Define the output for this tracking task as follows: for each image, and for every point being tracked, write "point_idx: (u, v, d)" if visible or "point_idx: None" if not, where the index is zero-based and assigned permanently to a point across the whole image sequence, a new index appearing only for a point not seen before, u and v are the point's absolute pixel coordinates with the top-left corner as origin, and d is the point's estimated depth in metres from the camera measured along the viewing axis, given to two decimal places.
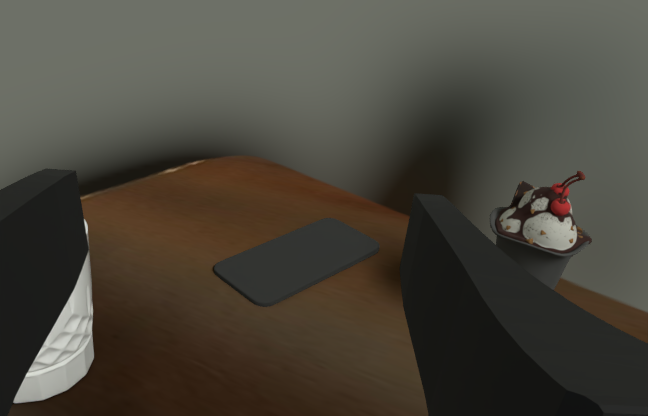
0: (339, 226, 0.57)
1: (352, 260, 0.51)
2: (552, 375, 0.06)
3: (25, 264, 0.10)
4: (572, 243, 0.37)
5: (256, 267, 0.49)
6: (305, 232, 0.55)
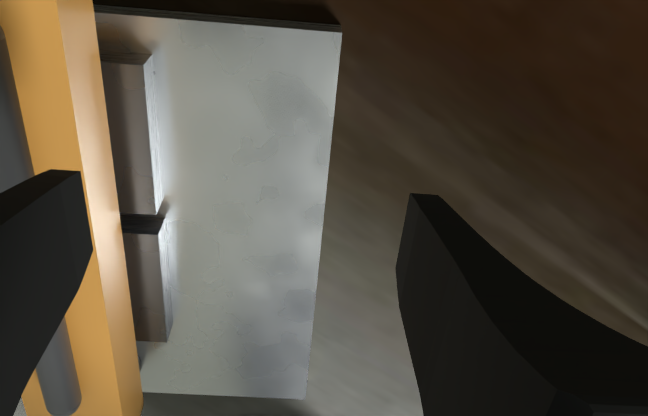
0: None
1: None
2: (543, 374, 0.06)
3: (31, 264, 0.10)
4: None
5: None
6: None
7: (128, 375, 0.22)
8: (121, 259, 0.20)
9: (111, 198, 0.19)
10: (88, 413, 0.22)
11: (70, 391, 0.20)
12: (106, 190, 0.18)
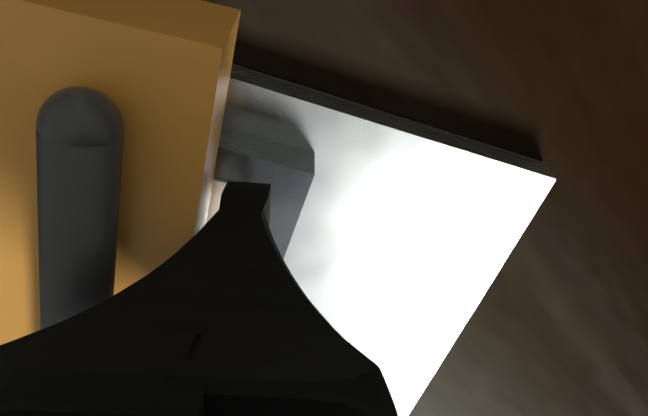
0: None
1: None
2: (170, 356, 0.06)
3: None
4: None
5: None
6: None
7: None
8: None
9: None
10: None
11: None
12: None
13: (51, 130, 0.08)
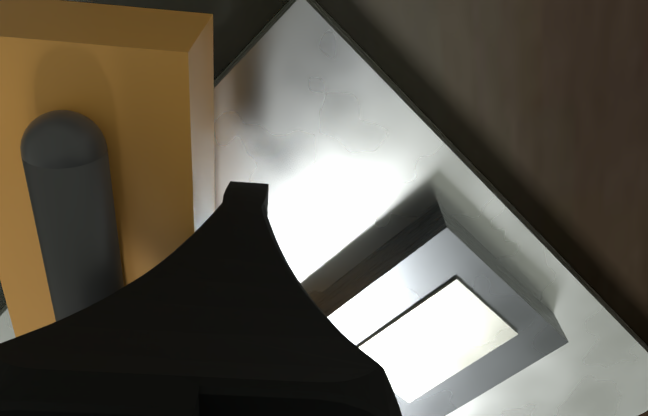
0: None
1: None
2: (174, 356, 0.06)
3: None
4: None
5: None
6: None
7: None
8: None
9: None
10: None
11: None
12: None
13: (33, 155, 0.08)
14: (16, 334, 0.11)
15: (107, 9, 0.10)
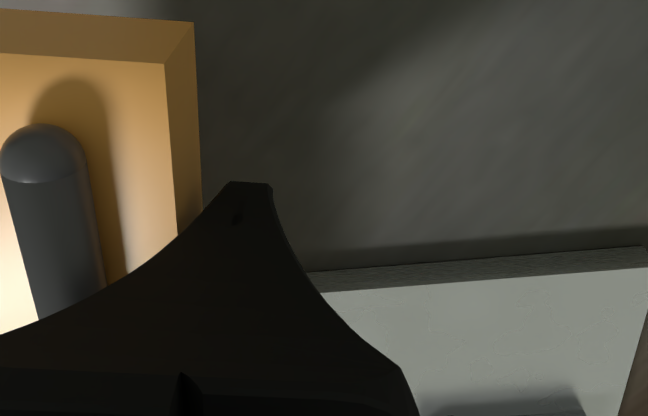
0: None
1: None
2: (193, 357, 0.06)
3: None
4: None
5: None
6: None
7: None
8: None
9: None
10: None
11: None
12: None
13: (11, 170, 0.08)
14: None
15: (87, 19, 0.10)
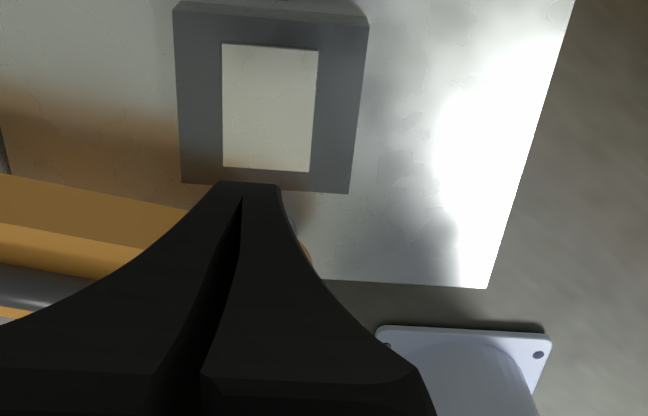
0: None
1: None
2: (211, 358, 0.06)
3: (227, 276, 0.10)
4: None
5: None
6: None
7: None
8: (11, 182, 0.17)
9: None
10: None
11: None
12: None
13: None
14: None
15: None
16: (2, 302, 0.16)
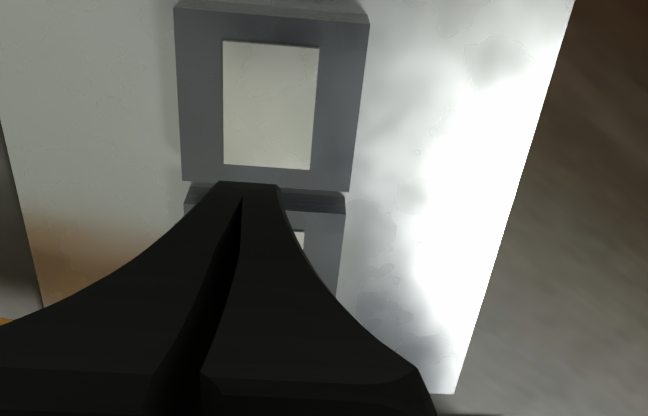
0: None
1: None
2: (211, 358, 0.06)
3: (227, 276, 0.10)
4: None
5: None
6: None
7: None
8: None
9: None
10: None
11: None
12: None
13: None
14: None
15: None
16: None
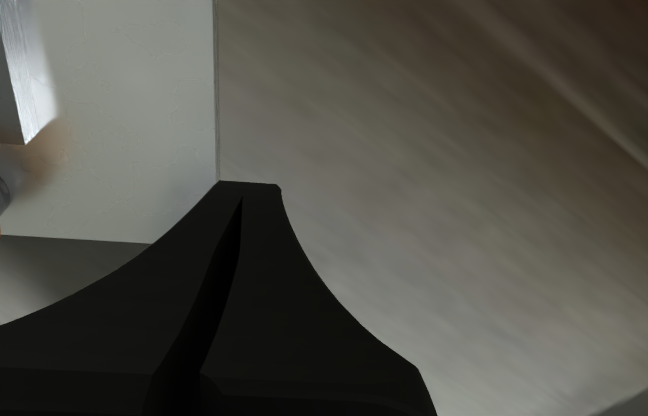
0: None
1: None
2: (211, 358, 0.06)
3: (227, 276, 0.10)
4: None
5: None
6: None
7: None
8: None
9: None
10: None
11: None
12: None
13: None
14: None
15: None
16: None
